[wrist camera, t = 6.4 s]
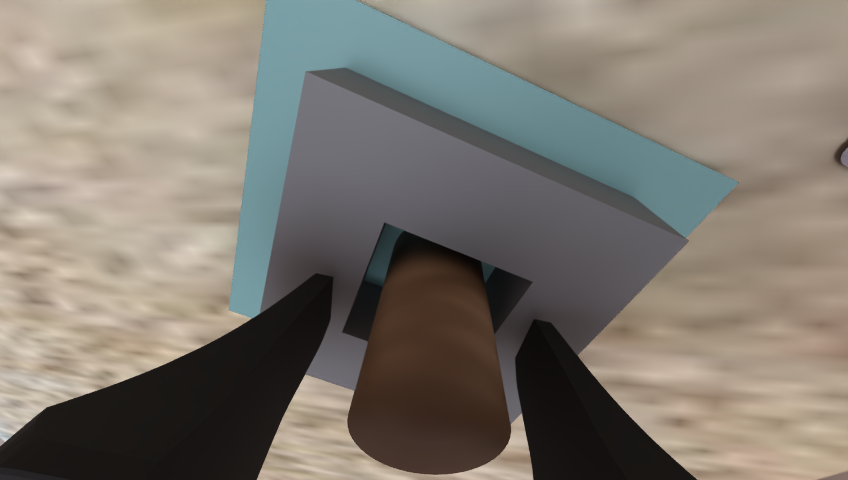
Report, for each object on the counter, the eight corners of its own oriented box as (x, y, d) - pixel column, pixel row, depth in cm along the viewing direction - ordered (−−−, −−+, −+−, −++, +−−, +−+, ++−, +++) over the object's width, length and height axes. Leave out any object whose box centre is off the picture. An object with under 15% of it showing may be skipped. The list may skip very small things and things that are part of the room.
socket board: (720, 174, 13) (832, 224, 9) (516, 396, 21) (530, 474, 17) (285, -33, 11) (192, -82, 7) (239, 298, 19) (182, 361, 15)
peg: (489, 227, 14) (533, 391, 7) (468, 298, 16) (487, 483, 9) (397, 212, 14) (351, 364, 7) (388, 285, 16) (344, 462, 9)
